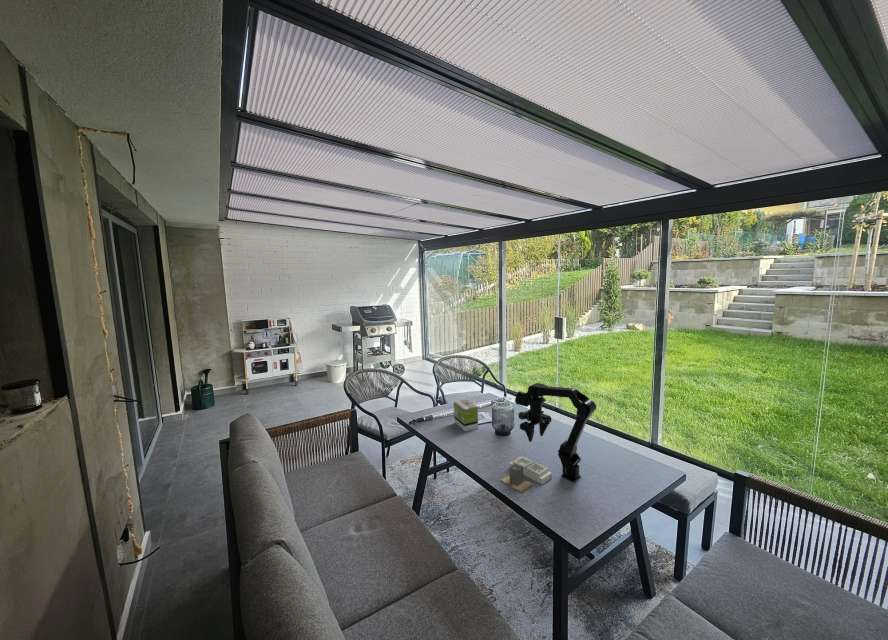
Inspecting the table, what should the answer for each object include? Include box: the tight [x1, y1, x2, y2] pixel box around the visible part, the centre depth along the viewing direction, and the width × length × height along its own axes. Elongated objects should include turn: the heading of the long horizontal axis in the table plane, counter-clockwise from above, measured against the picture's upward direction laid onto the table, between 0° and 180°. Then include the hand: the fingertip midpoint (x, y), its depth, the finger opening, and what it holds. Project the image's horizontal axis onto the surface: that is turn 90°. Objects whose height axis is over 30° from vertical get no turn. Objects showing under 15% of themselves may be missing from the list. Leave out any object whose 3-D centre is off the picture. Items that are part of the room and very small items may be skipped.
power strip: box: [509, 455, 553, 485], centre depth 164 cm, size 19×8×4 cm, turn 39°
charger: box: [509, 464, 524, 486], centre depth 156 cm, size 4×4×7 cm
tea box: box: [453, 399, 479, 432], centre depth 218 cm, size 15×10×15 cm
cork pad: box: [500, 473, 534, 494], centre depth 156 cm, size 12×8×1 cm, turn 39°
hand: (535, 438), depth 170 cm, fingers open, 9 cm apart
